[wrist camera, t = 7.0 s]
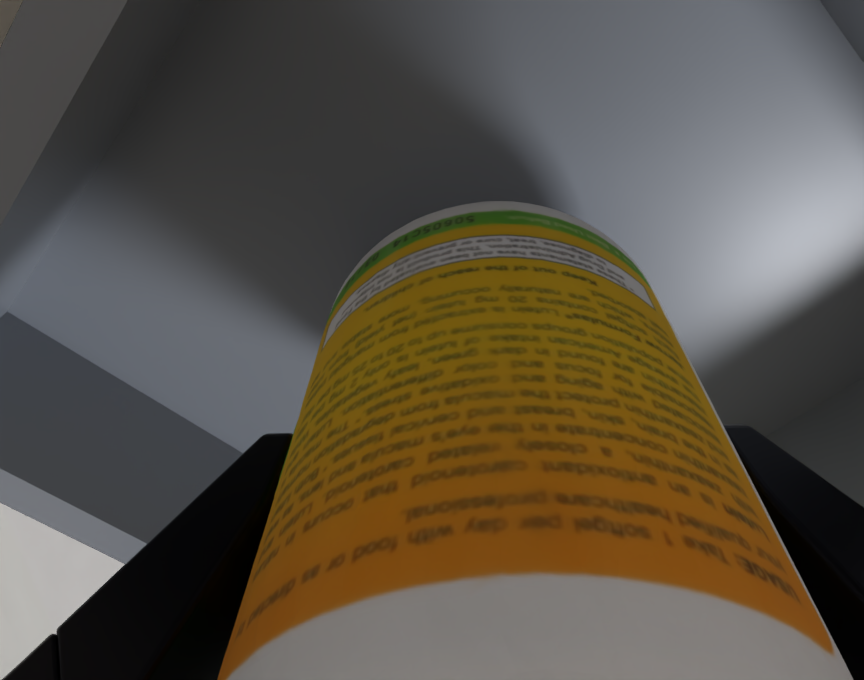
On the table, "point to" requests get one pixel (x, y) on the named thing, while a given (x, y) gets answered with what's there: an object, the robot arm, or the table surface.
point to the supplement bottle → (515, 482)
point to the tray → (400, 210)
